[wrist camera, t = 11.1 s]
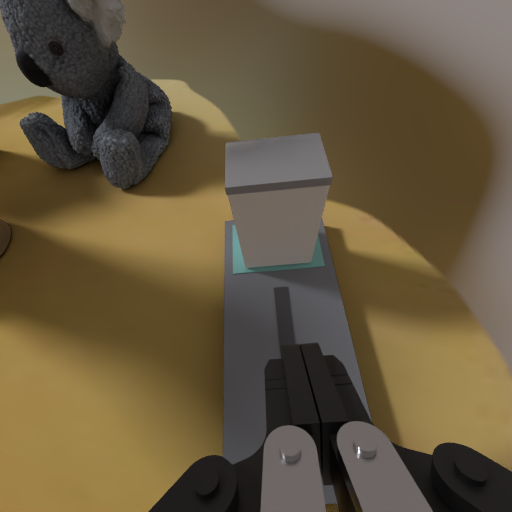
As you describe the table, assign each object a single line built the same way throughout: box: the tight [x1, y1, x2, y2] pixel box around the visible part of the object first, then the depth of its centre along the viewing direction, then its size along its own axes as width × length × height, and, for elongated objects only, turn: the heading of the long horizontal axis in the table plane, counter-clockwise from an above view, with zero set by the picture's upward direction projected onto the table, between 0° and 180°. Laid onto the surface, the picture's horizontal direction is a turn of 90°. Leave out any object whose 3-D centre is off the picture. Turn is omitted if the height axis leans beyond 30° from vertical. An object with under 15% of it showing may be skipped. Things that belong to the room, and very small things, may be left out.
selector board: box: [223, 219, 372, 504], centre depth 21 cm, size 22×10×2 cm, turn 3°
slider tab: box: [225, 133, 333, 268], centre depth 19 cm, size 4×6×10 cm
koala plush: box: [0, 0, 172, 189], centre depth 30 cm, size 17×18×20 cm
